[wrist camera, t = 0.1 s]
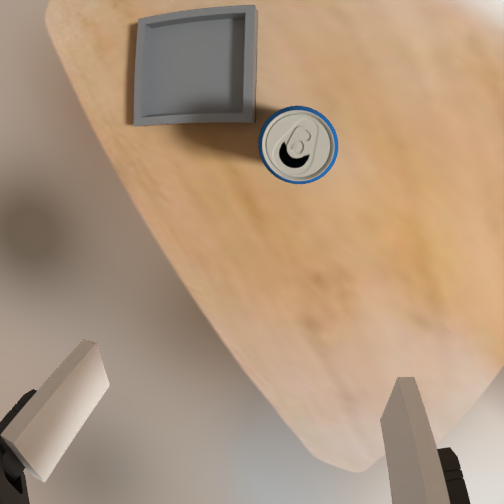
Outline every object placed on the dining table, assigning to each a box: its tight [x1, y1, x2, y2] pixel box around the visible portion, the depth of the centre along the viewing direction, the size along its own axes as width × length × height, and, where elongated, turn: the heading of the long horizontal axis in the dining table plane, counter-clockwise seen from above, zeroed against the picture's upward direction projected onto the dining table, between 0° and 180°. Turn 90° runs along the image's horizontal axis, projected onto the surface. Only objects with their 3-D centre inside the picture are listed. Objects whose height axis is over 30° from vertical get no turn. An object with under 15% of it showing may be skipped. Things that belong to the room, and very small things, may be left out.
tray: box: [134, 5, 258, 126], centre depth 32 cm, size 14×14×2 cm
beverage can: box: [259, 106, 338, 184], centre depth 29 cm, size 6×6×12 cm
